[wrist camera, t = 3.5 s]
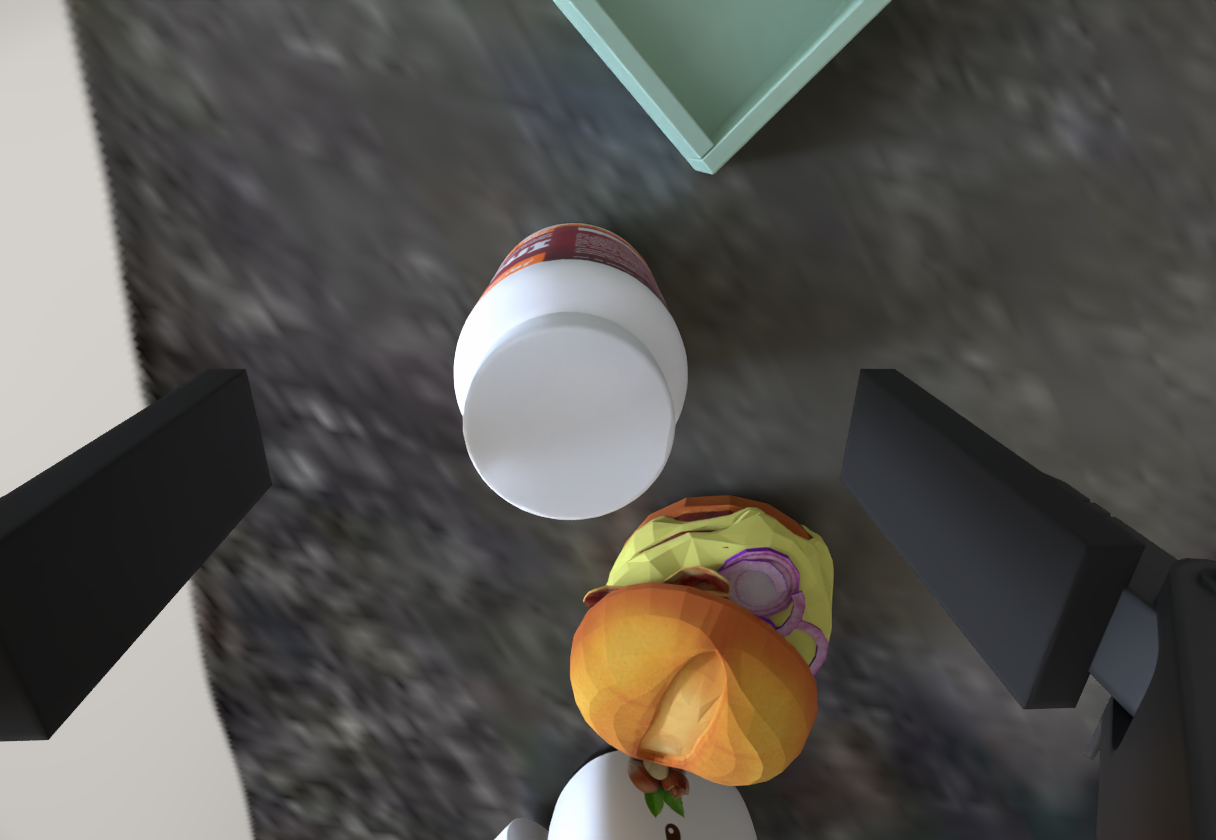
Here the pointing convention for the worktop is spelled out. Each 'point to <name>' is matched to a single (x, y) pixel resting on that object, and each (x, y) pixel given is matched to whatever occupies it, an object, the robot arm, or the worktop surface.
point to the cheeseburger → (708, 640)
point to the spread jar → (639, 805)
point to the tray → (716, 60)
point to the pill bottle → (570, 375)
